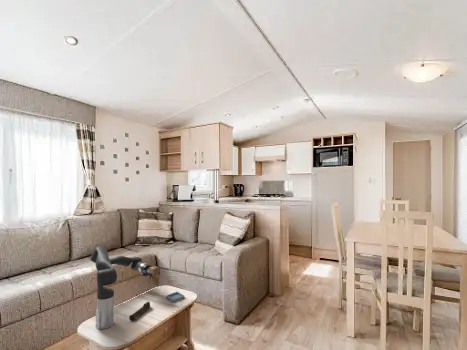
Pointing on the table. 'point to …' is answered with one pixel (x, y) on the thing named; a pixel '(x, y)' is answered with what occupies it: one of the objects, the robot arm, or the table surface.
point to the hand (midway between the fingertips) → (155, 274)
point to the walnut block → (154, 274)
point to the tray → (175, 296)
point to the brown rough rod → (139, 311)
